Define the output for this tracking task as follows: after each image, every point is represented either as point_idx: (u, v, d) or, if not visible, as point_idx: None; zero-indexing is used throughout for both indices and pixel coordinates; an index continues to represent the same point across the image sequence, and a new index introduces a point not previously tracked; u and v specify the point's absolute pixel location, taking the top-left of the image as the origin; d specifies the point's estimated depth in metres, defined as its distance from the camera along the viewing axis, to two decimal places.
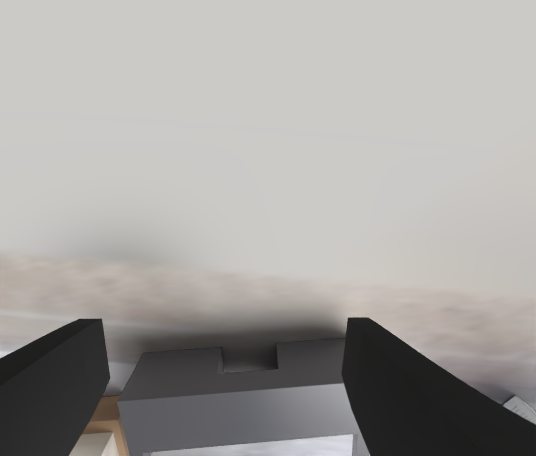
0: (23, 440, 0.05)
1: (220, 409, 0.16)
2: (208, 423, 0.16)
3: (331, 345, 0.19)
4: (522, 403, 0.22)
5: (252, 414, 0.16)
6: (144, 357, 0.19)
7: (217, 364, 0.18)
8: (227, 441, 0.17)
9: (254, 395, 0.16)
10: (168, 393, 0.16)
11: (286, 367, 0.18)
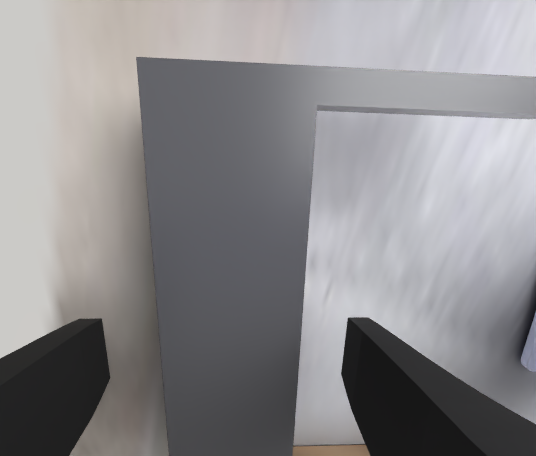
0: (23, 440, 0.05)
1: (204, 400, 0.08)
2: (237, 420, 0.09)
3: None
4: None
5: (223, 348, 0.08)
6: None
7: None
8: (286, 392, 0.08)
9: (174, 342, 0.08)
10: None
11: None
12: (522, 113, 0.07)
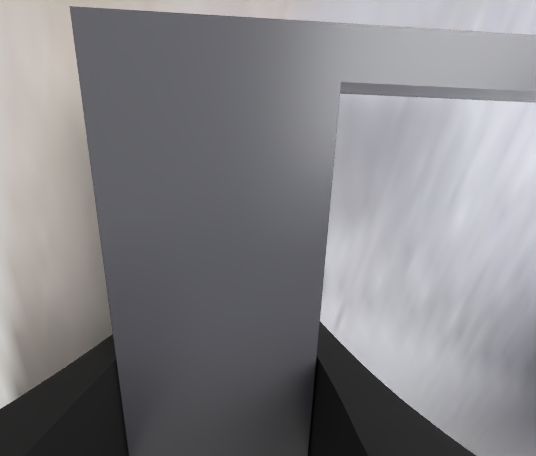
0: (106, 437, 0.05)
1: None
2: None
3: None
4: None
5: (208, 413, 0.06)
6: None
7: None
8: None
9: (142, 408, 0.06)
10: None
11: None
12: None
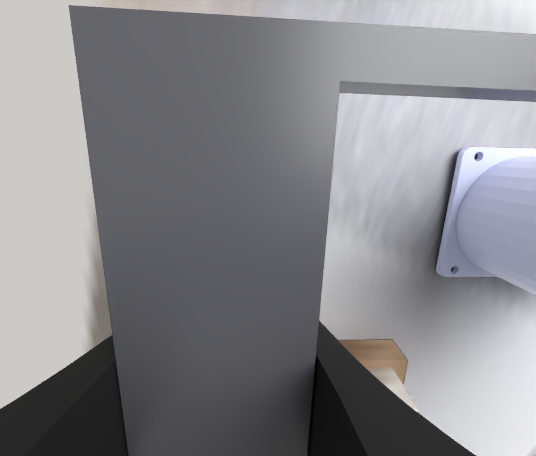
0: (106, 438, 0.05)
1: None
2: None
3: None
4: None
5: (208, 413, 0.06)
6: None
7: None
8: None
9: (141, 407, 0.06)
10: None
11: None
12: None
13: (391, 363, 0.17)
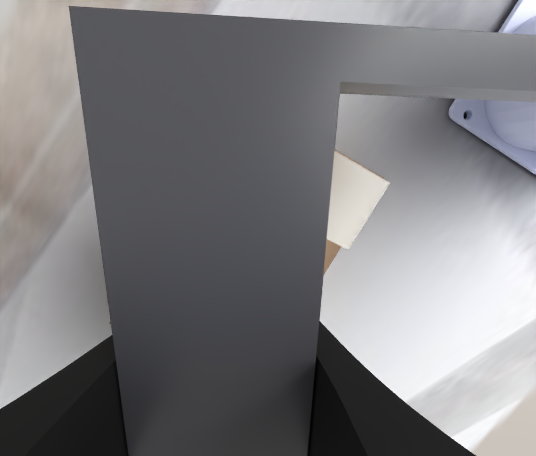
0: (106, 438, 0.05)
1: None
2: None
3: None
4: None
5: (208, 413, 0.06)
6: None
7: None
8: None
9: (141, 408, 0.06)
10: None
11: None
12: None
13: None
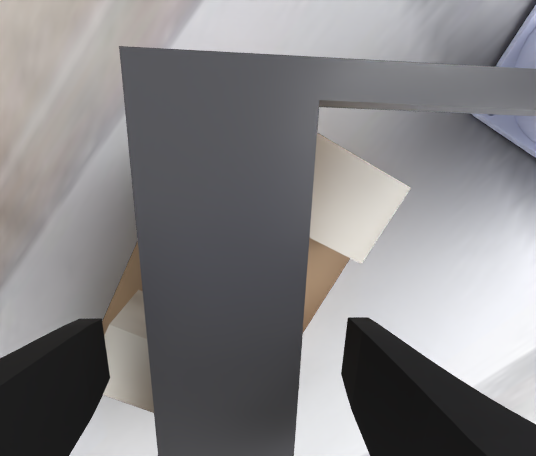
0: (23, 440, 0.05)
1: (197, 418, 0.08)
2: (233, 439, 0.08)
3: None
4: None
5: (217, 363, 0.07)
6: None
7: None
8: (285, 410, 0.08)
9: (164, 358, 0.07)
10: None
11: None
12: None
13: None
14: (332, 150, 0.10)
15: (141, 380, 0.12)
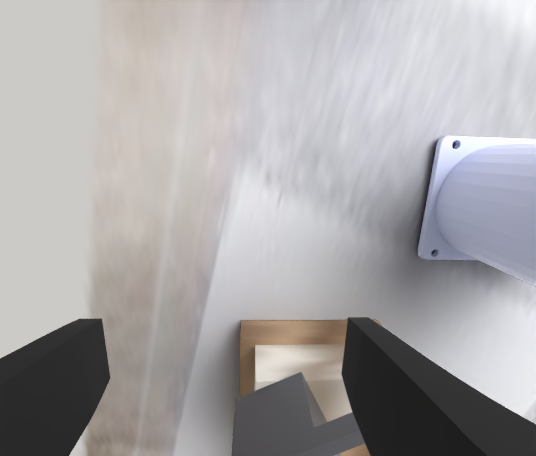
0: (23, 440, 0.05)
1: None
2: None
3: None
4: None
5: None
6: None
7: None
8: None
9: None
10: None
11: None
12: None
13: None
14: (337, 383, 0.15)
15: None
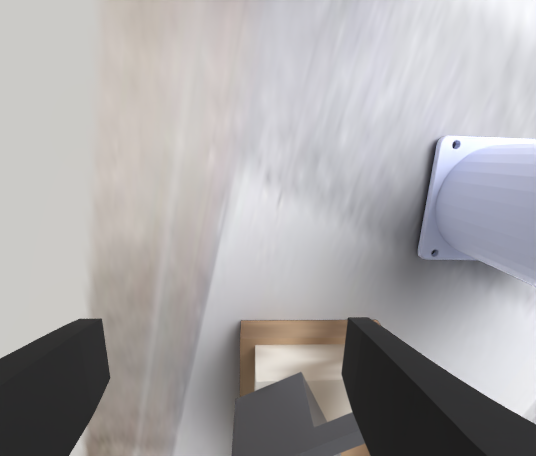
0: (23, 440, 0.05)
1: None
2: None
3: None
4: None
5: None
6: None
7: None
8: None
9: None
10: None
11: None
12: None
13: None
14: (337, 383, 0.15)
15: None
